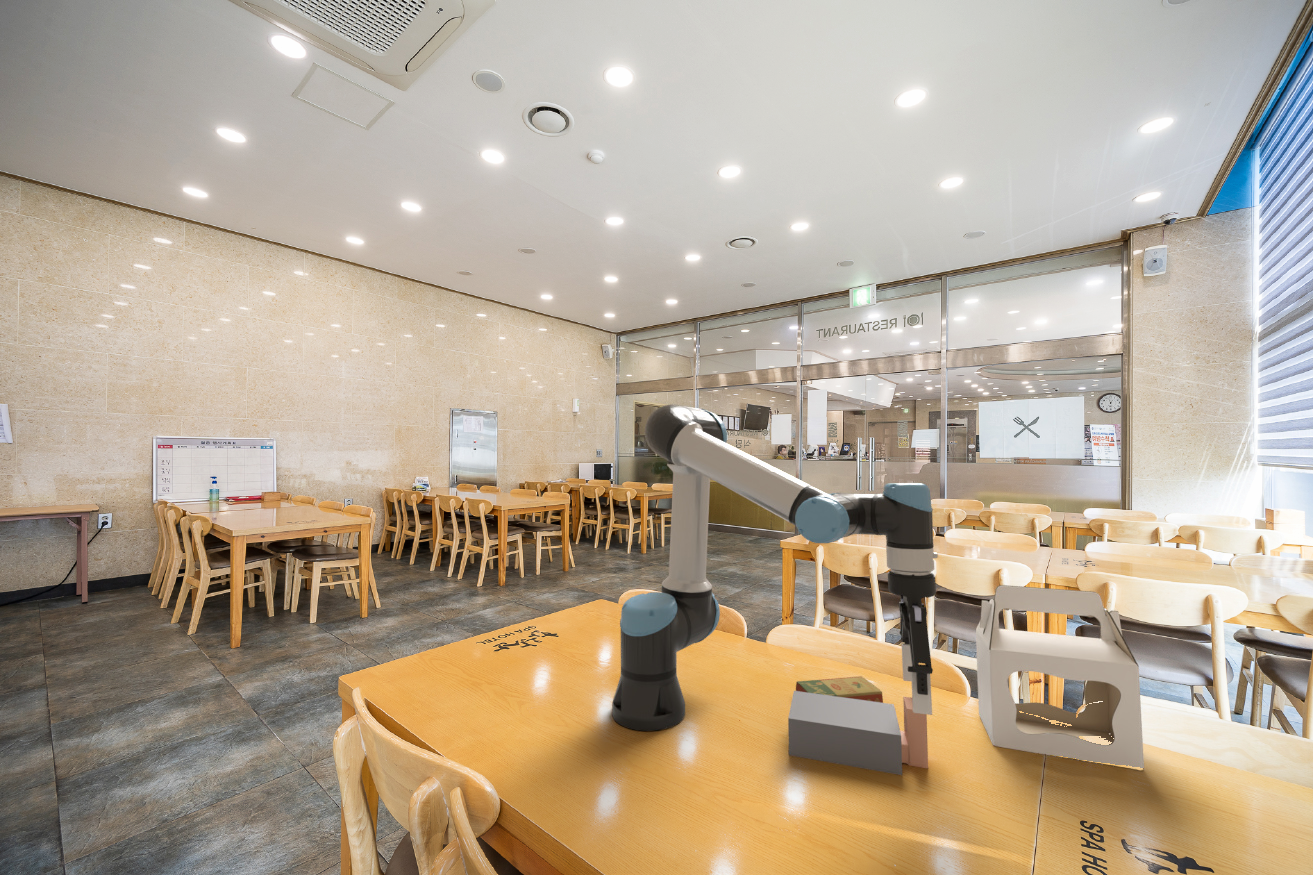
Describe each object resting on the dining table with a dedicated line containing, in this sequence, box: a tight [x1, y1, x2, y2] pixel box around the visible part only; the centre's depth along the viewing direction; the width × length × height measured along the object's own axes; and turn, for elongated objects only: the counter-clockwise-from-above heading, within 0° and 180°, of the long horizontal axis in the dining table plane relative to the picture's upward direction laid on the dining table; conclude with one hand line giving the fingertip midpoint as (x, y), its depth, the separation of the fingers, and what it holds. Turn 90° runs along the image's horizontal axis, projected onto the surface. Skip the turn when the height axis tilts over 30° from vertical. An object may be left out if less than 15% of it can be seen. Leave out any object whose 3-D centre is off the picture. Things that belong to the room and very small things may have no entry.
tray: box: [900, 696, 929, 769], centre depth 93 cm, size 21×10×10 cm, turn 71°
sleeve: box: [787, 690, 903, 776], centre depth 94 cm, size 18×12×7 cm, turn 71°
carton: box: [795, 675, 884, 703], centre depth 112 cm, size 8×16×4 cm, turn 99°
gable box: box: [975, 584, 1145, 769], centre depth 98 cm, size 22×13×28 cm, turn 68°
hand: (916, 695), depth 90 cm, fingers open, 13 cm apart
